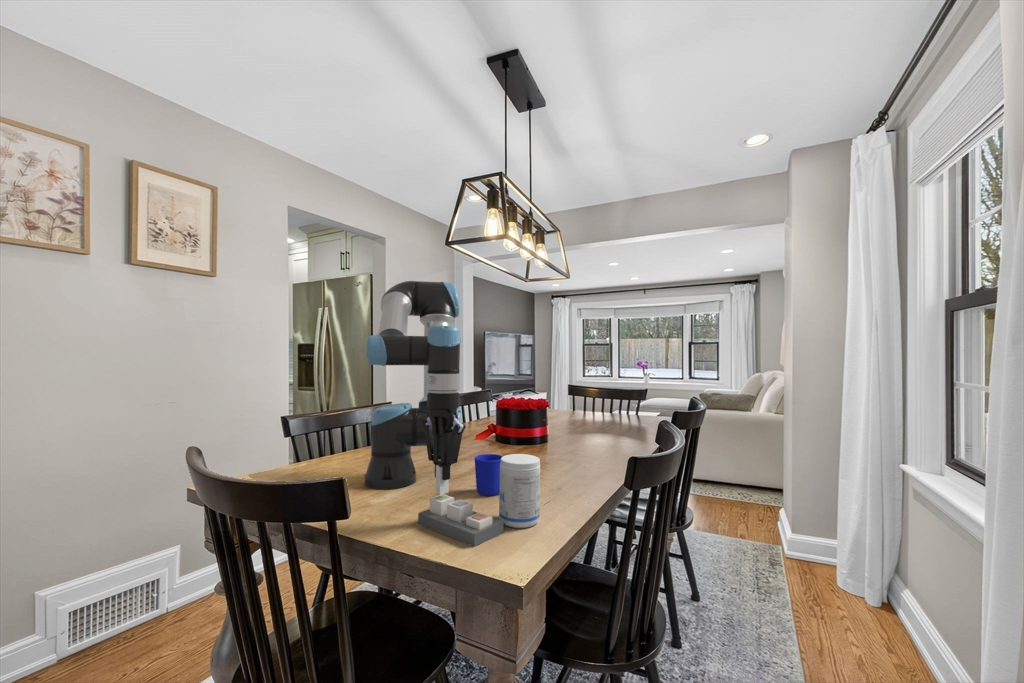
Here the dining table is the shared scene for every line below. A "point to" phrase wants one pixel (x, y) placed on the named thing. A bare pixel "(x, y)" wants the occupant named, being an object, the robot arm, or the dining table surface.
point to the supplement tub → (519, 490)
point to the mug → (488, 474)
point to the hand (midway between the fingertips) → (442, 492)
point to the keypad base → (460, 528)
